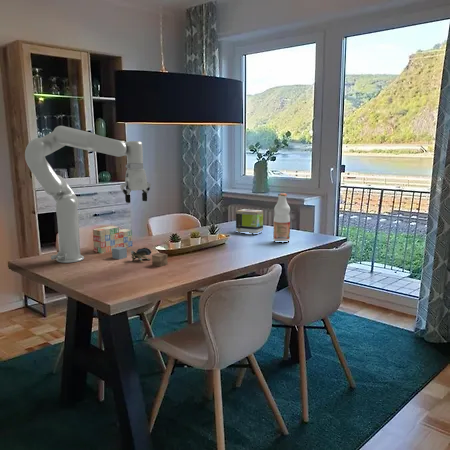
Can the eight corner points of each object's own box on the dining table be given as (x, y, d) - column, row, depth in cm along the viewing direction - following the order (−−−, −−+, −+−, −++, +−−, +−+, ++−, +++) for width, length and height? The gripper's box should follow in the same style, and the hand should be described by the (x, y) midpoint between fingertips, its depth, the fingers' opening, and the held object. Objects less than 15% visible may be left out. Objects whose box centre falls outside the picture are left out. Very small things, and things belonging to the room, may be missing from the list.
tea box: (263, 232, 284) (263, 210, 282) (256, 235, 275) (256, 212, 273) (242, 230, 291) (242, 208, 289) (235, 233, 283) (235, 210, 280)
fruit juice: (270, 241, 259) (270, 193, 254) (283, 239, 263) (284, 192, 258) (279, 244, 250) (280, 194, 246) (292, 242, 255) (294, 194, 250)
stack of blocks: (125, 245, 249) (124, 223, 247) (132, 246, 245) (131, 224, 243) (93, 252, 232) (92, 229, 230) (101, 253, 229) (100, 230, 226)
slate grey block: (119, 259, 216) (119, 249, 215) (112, 258, 219) (111, 248, 218) (127, 257, 220) (126, 247, 220) (119, 256, 223) (119, 246, 222)
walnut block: (160, 267, 203) (160, 256, 202) (152, 265, 205) (152, 255, 204) (167, 264, 207) (167, 254, 206) (159, 263, 209) (159, 252, 209)
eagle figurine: (135, 261, 207) (153, 256, 211) (130, 248, 209) (148, 242, 213) (133, 267, 214) (150, 261, 218) (128, 253, 215) (145, 248, 219)
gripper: (124, 167, 207) (125, 204, 210) (154, 166, 219) (155, 201, 222) (115, 167, 212) (117, 202, 215) (145, 166, 224) (146, 199, 227)
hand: (136, 201), depth 218 cm, fingers open, 9 cm apart
